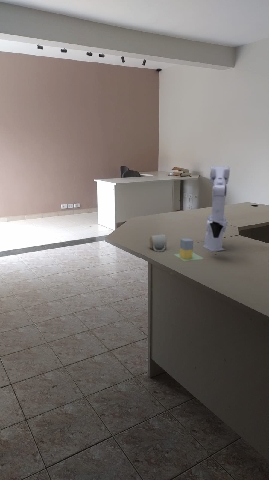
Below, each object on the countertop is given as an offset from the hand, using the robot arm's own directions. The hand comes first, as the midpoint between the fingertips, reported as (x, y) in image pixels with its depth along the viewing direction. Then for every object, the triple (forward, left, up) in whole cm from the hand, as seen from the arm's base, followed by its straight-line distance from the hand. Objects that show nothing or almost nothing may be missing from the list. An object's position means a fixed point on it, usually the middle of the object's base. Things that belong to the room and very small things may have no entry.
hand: (215, 237), depth 178 cm
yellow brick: (-4, -14, -10) cm, 17 cm away
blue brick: (-4, -14, -6) cm, 15 cm away
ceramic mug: (-22, -20, -11) cm, 32 cm away
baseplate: (-5, -12, -10) cm, 17 cm away
